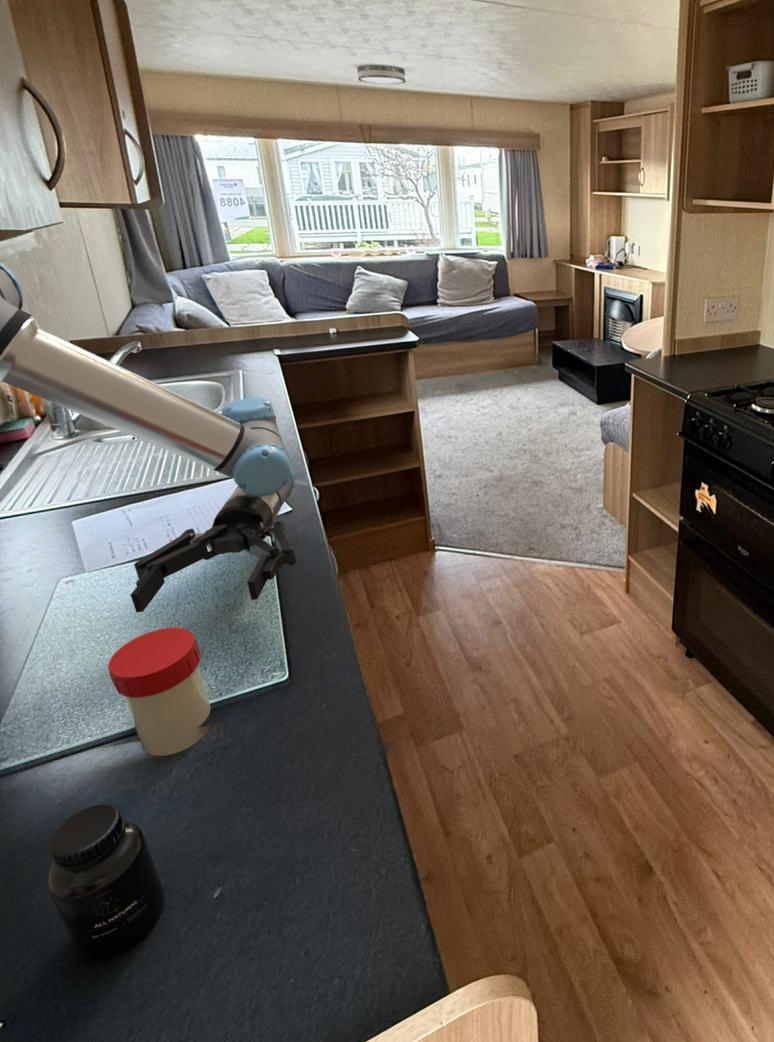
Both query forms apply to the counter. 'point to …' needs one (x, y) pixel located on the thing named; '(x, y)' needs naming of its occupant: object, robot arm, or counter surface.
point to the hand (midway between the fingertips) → (195, 597)
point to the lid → (154, 662)
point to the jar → (171, 716)
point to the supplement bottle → (103, 881)
